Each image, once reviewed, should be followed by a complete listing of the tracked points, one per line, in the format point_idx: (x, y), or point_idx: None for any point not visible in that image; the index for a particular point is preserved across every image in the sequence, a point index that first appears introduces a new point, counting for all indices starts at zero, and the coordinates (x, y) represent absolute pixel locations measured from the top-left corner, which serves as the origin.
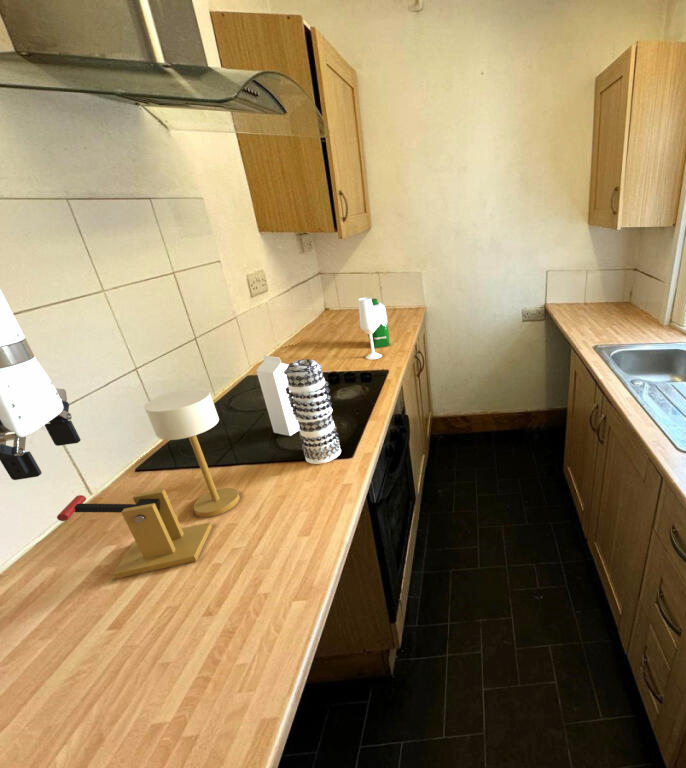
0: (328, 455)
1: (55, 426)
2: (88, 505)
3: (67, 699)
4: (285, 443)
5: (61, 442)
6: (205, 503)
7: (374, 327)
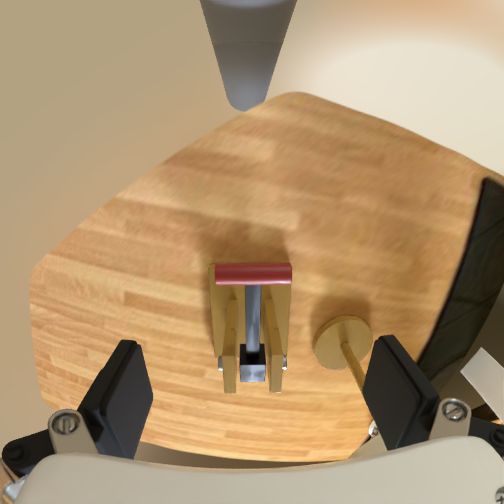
0: (371, 438)
1: (400, 423)
2: (252, 303)
3: (61, 290)
4: (447, 372)
5: (375, 362)
6: (342, 335)
7: None
